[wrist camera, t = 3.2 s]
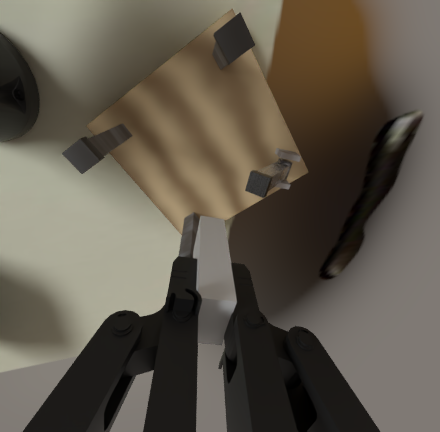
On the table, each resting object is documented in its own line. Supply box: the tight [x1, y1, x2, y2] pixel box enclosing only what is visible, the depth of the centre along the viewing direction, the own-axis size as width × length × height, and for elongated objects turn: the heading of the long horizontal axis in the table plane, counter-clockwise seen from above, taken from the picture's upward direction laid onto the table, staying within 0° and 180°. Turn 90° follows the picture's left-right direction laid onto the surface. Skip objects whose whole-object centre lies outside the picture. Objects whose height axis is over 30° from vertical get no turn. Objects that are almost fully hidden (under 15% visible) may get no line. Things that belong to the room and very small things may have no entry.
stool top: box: [62, 9, 308, 258], centre depth 31 cm, size 24×24×16 cm
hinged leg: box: [245, 158, 293, 198], centre depth 32 cm, size 13×3×2 cm
